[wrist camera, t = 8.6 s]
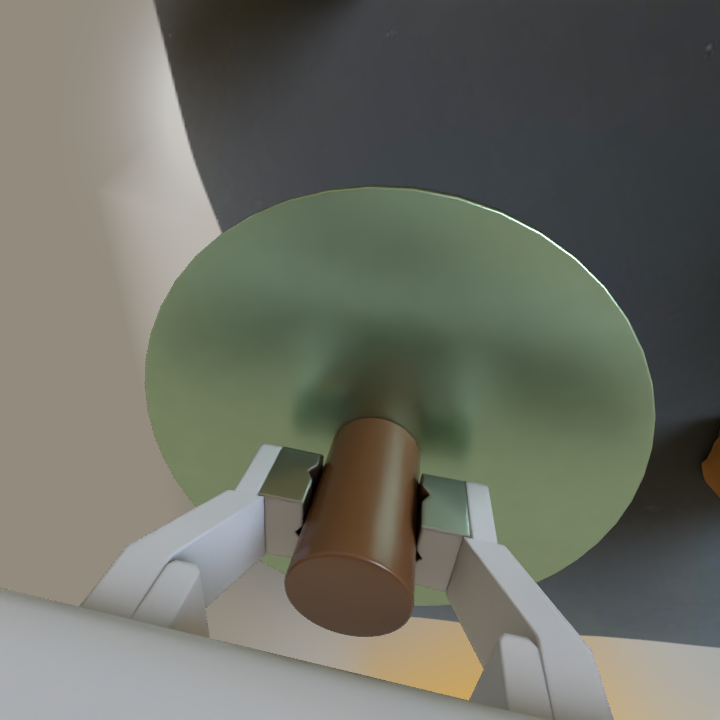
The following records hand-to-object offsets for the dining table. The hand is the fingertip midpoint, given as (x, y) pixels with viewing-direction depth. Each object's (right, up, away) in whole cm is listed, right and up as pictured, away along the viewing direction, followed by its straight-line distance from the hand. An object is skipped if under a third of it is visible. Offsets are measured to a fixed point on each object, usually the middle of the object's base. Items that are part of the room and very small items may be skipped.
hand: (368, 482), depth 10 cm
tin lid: (0, +1, +1) cm, 2 cm away
